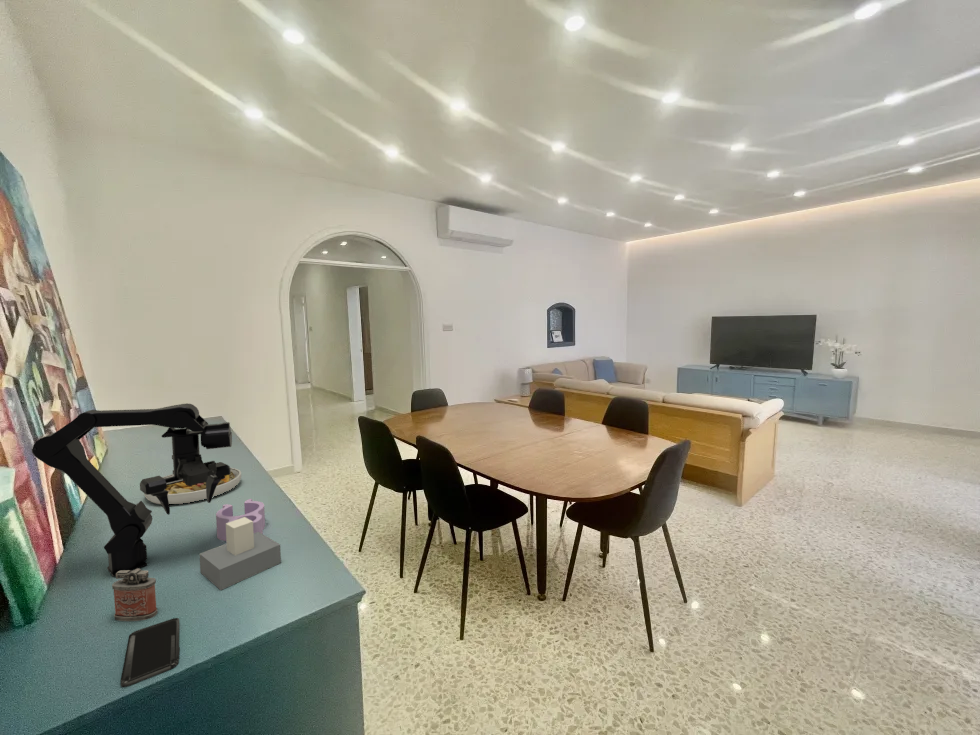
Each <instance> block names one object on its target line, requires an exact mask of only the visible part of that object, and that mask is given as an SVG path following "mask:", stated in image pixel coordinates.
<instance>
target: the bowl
mask: <svg viewBox="0 0 980 735" xmlns="http://www.w3.org/2000/svg"><path fill="white" fill-rule="evenodd" d="M173 476H174V474H173V473H172V474H169V475H165V476H163V477H162V476H161V477H162V478H169V477H173ZM241 479H242V471H241V470H240V469H238V468H234V467H230V475H226V476H225V478H224V479H222V480H221V481H220V482H219V483H218V484H217V486H216V489H215V491H214V494H213V496H217V495H219V494H222V493H224V492H226V491H228V492H230V491H232V490H233V489H234V488H236V487H237V486H238V484H239V483H240V482H241ZM236 485H237V486H236ZM235 486H236V487H235ZM232 488H233V489H232ZM231 489H232V490H231ZM165 490H167V491H168V502H169V504H179V505H184V504H183V503H188V504H191V503H190V502H194V501H199V500H203V499H207V497H206V482H204V483H198V484H195V485H192V486H187V485H186V484H185V482H184V481H183V482H179V483H175V484H171V485H167V486H166V488H165ZM229 490H230V491H229ZM226 493H227V492H226ZM224 494H225V493H224ZM143 495H144V497H145V498H146V500H148V501H149V502H151V503H153V504H157V505H161V503H160V501H159V500H158V498H157V497H156V496H152V495H151V494H149V495H146V494H145V493H143ZM222 495H223V494H222ZM217 497H218V496H217ZM203 501H204V500H203ZM199 502H200V501H199ZM194 503H195V502H194Z"/></svg>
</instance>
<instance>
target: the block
mask: <svg viewBox="0 0 980 735" xmlns="http://www.w3.org/2000/svg"><path fill="white" fill-rule="evenodd" d="M225 542H226V543H227V551H229V552H230V553H232V554H233V555H238V554H240V553H243V552H245V551H248V550H250V549H252V548H254V533H253V521H251V520H249V519H248V518H246V517H243V518H240V519H237V520H234V521H231V522H228V523H226V541H225Z"/></svg>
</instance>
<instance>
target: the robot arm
mask: <svg viewBox="0 0 980 735" xmlns="http://www.w3.org/2000/svg"><path fill="white" fill-rule="evenodd" d="M230 423H231V422H227V421H226V422H222V423H212V424H211V423H210V424H209V422H208V421H207V420H206V419H205V418H203V417H202V416H201V415H200V411H199V409H198V408H197V407H196V406H195V405H194V404H192V403H181V404H175V405H174V404H173V405H169V406H164V407H160V408H150V409H149V408H148V409H145V408H143V409H142V408H141V409H138V408H137V409H118V410H117V409H111V410H110V409H109V410H107V409H106V410H98V409H90V410H86V411H83V412H81V413H80V414H78V415H77V416H76V417H75V418H74V419H73V420H72V421H70V422H69V423H67V424H66V425H64V426H63V427H61V428H60V429H59V430H57V431H55V432H53V433H50V434H48V435H46V436H43V437H40V438H39V439H38V440H36V441H35V442H34V443H33V445H32V449H31V452H32V455H33V456H34V457H35V458H36V459H38V460H39V461H40V462H42V463H43V464H45V465H47V466H48V467H51V468H54V469H56V470H58V471H61V472H63V473H64V474H65V475H66V476H68V478H69V479H70V480H72V482H73V483H74V485H75V484H76V486H77V487H78V488H80V489H81V491H82V492H83V493H84V494H85V495H86V496H87V497H88V498H89V499H90V500H91V501H92V502H93V503H94V504H95V505H96V506H97V507H98V508H99V509H100V510H101V512H103V514H105V515H106V516H107V519H108V523H109V528H110V529H111V531H112V532H113V535H112V537H111V538H110V539H109V540H108V541H107V543H105V545H104V546H103V548H104V550H105V552H106V553H107V554H108V566H107V567H106V569H107V570H108V572H109V573H110V574H111V576H112V577H114V578H116V573H117V572H118V571H120V570H130V571H134V570H135V569H137V568H140V569H141V568H143V567H146V566H147V565H148V563H147V561H148V553H147V551H148V550H147V545H146V543H145V542H144V540H143V539H142V537H143V536H144V535H145V533H146V532H147V531H148V529H149V527H150V526H151V525H152V523H153V516H152V513H153V510H151V509H149V508H148V507H147V506H146V505H145V504H144V502H143V501H142V500H140V501H139V502H137V503H133V502H130V501H128V500H127V499H126V498H125V497H124V496H123V495H122V493H120V492H119V491H118V490H117V489H116V488H115V487H114V485H112V484H111V482H110V481H109V480H108V479H107V478H106V476H104V475H103V474H102V473H101V472H100V470H98V469H97V468H96V466H95V465H93V463H92V462H91V461H90V460H88V457H87V455H86V450H85V448H84V446H83V444H82V442H81V441H80V440H81V439H82V438H84V436H86V435H87V434H88V433H89V432H91V431H92V430H93V429H94V428H101V427H102V428H108V427H109V428H110V427H130V426H131V427H133V426H134V427H135V426H151V425H152V426H158V427H163V428H167V430H166V431H165V432H164V433H163V434H162V435H161V438H171V447H172V449H171V451H172V455H171V460H172V464H173V470H172V474H174V476H173V477H169V478H162V476H160V475H156V476H151V477H147V478H142V480H141V481H140V483H139V490H140V491H141V492H142V493H143V494H144V493H145V494H146V495H149V494H151V495H152V496H156V497H157V498H158V500H159V501H160V503H161V504H160V505H161V506H162V509H163V510H164V512H165V514H166V515H170V514H171V508H170V505H169V502H168V491H167V490H165V488H166V486H167V485H171V484H175V483H179V482H183V481H184V482H185V484H186V485H187V486H192V485H195V484H198V483H204V482H206V497H207V500H206V502H207V503H209V504H210V503H211V502H212V500H213V498H212V497H213V494H214V491H215V489H216V486H217V484H218V483H219V482H220V481H221V480H222V479H224V478H225V476H226V475H230V468H231V467H230V465H229V464H227V463H224V462H221V461H220V462H219V461H218V462H216V460H211V461H206V462H204V461H203V459H202V458H203V457H202V454H201V453H200V445H201V447H203V448H205V449H206V450H212V449H213V450H214V449H222V448H231V447H232V444H233V433H232V430H231V429H232V428H231V424H230ZM199 436H200V437H199Z"/></svg>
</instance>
